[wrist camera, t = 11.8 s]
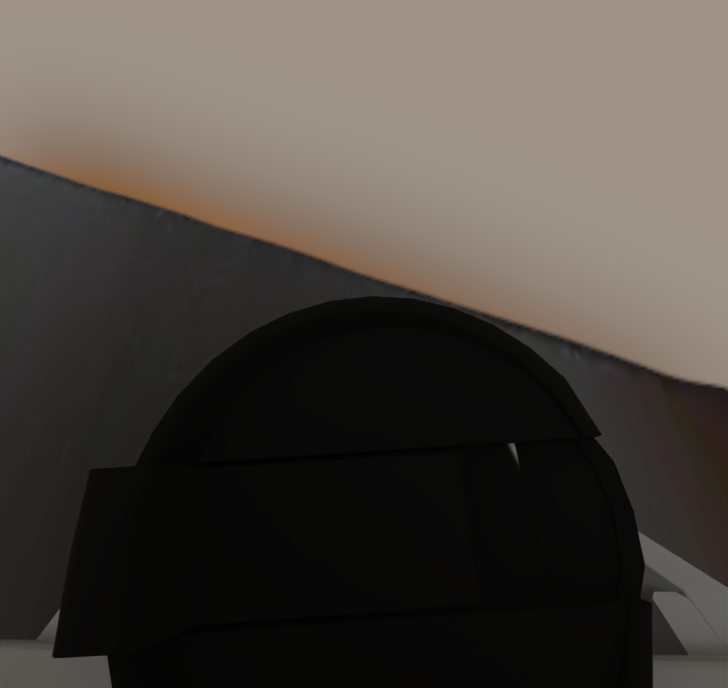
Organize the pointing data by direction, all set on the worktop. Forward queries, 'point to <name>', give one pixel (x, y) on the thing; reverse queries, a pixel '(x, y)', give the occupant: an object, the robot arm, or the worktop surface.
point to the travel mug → (364, 520)
